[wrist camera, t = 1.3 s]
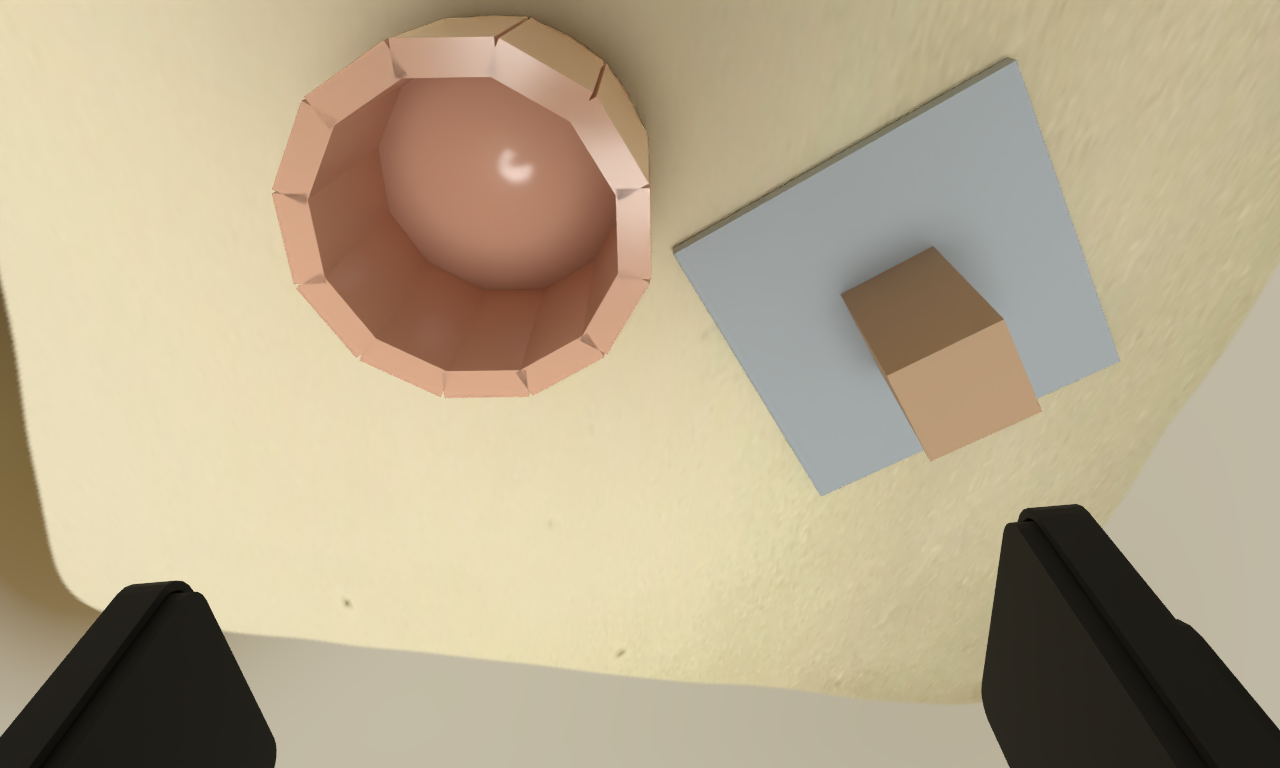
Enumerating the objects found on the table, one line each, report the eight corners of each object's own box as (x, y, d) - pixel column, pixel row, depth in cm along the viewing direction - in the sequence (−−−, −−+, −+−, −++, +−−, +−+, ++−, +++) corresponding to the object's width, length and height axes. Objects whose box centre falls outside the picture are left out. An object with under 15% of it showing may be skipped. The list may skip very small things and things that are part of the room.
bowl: (544, -51, 27) (509, -51, 20) (699, 219, 31) (716, 296, 24) (301, 120, 30) (197, 173, 23) (477, 346, 34) (434, 448, 27)
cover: (1002, 56, 29) (1121, 92, 22) (1106, 348, 35) (1226, 453, 28) (672, 244, 33) (681, 329, 25) (816, 481, 38) (856, 604, 31)
